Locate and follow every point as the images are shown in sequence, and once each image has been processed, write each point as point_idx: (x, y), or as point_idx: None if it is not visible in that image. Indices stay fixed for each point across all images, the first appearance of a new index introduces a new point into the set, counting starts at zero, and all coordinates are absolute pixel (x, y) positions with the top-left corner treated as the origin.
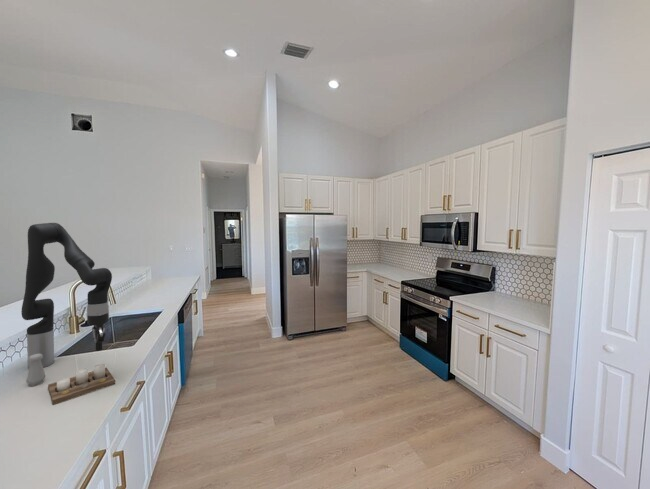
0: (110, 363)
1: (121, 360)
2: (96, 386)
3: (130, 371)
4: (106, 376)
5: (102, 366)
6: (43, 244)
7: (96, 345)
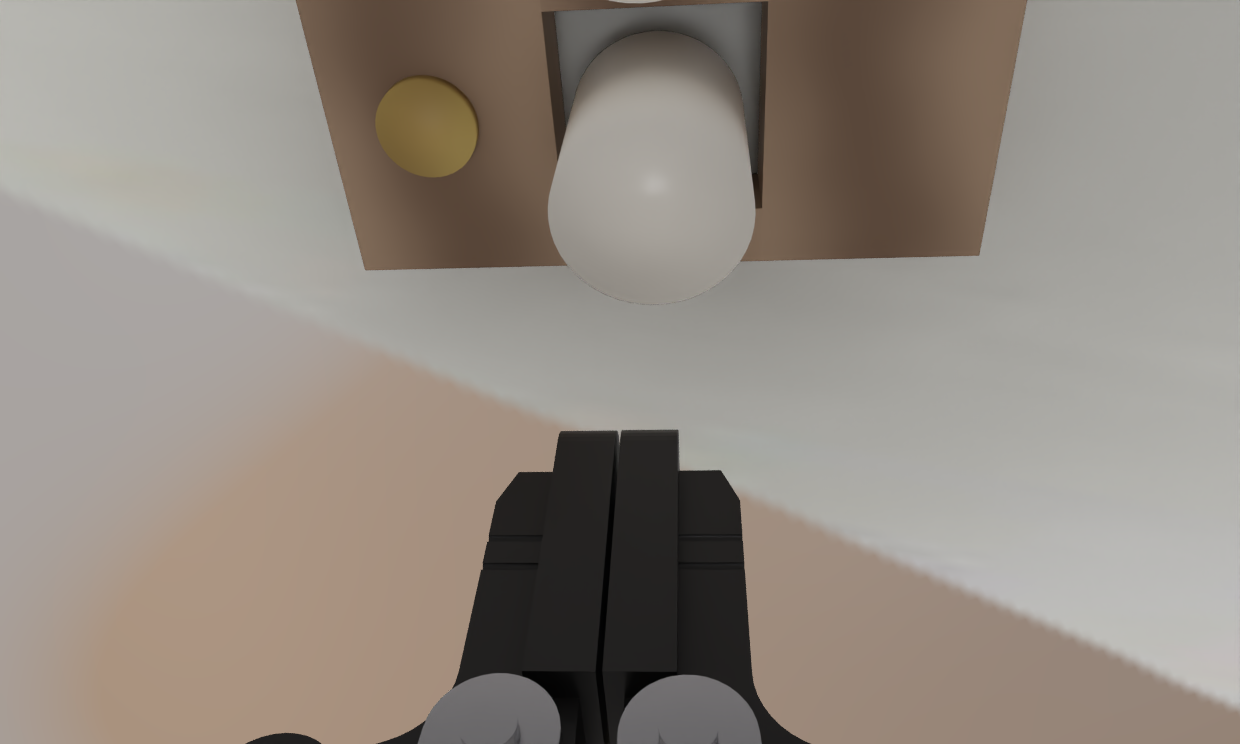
0: (1230, 312)
1: (1175, 436)
2: (308, 17)
3: None
4: None
5: (565, 254)
6: None
7: (542, 591)
